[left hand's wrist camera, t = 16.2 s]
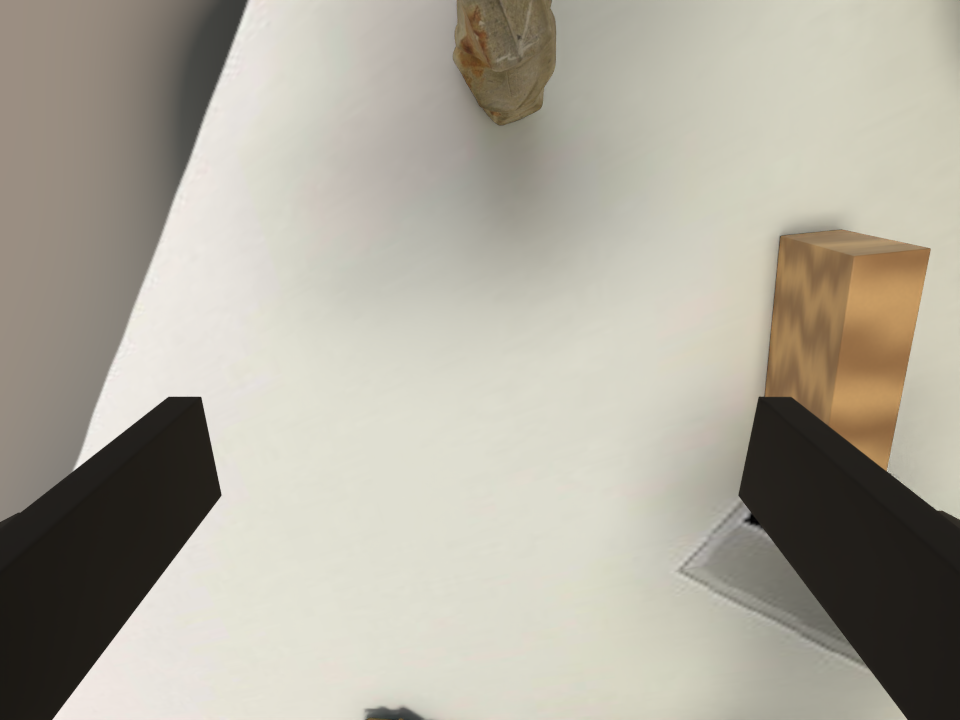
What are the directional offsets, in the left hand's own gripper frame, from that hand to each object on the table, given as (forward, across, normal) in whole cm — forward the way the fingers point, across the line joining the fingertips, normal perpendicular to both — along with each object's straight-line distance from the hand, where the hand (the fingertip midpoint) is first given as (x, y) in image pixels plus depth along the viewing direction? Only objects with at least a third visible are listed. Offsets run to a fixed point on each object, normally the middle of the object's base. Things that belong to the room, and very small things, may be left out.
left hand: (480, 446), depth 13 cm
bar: (+31, +27, -11) cm, 43 cm away
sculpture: (+31, +1, +12) cm, 34 cm away
